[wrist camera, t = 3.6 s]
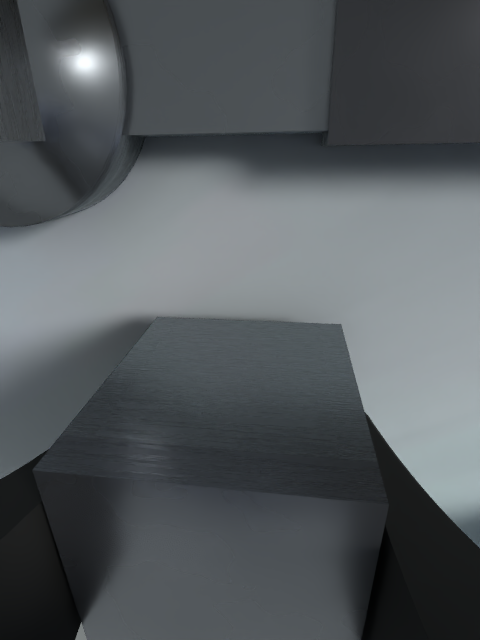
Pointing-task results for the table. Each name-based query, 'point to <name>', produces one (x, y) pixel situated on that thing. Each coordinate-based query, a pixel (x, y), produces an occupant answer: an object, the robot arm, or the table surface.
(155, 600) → the grey brushed cube
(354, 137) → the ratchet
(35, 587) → the robot arm
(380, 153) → the table surface
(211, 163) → the table surface
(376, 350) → the table surface
